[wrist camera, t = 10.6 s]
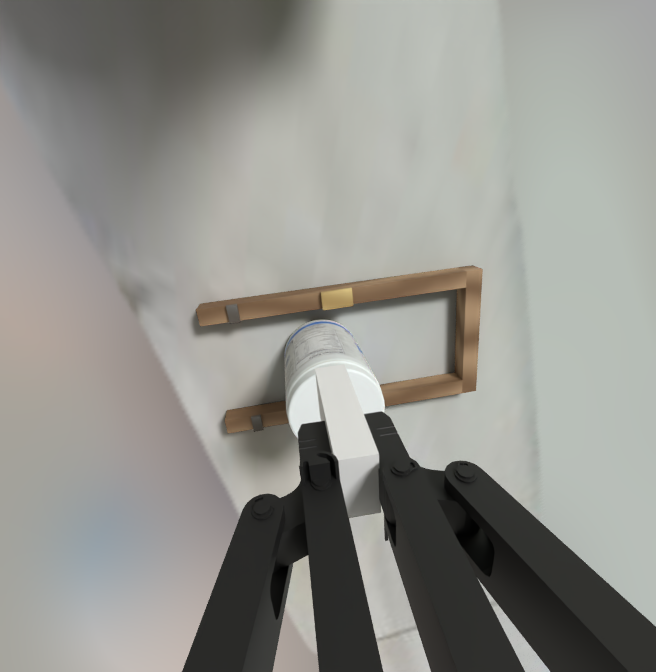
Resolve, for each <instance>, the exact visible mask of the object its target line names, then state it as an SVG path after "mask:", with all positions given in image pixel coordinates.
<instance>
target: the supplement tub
mask: <svg viewBox="0 0 656 672" xmlns="http://www.w3.org/2000/svg"><path fill="white" fill-rule="evenodd" d="M344 364H345V367H346V370H347V372H348V375H349V377H350V380H351V382H352V385H353V388H354V390H355V393H356V395H357V398H358V401H359V403H360V406H361V408H362V411H363V414H367V413H374V412H380V411H382V412H384V411H385V403H384V398H383V394H382V391H381V388H380V385H379V383H378V381H377V379H376V377H375V375H374V373H373V372H372V370H371V368H370V366H369V364H368V362H367V361H366V359H365V357H364V355H363V353H362V351H361V350H360V348H359V346H358V344H357V342H356V340H355V338H354V337H353V335H352V334H351V333H350V331H349V330H348V329H347V328H346V327H344V326H343V325H341V324H339V323H337V322H335V321H331V320H324V319H320V320H314V321H310V322H307V323H305V324H303V325H302V326H300V327H299V328H298V329H296V330H295V331H294V332H293V334H292V335H291V336H290V338H289V340H288V342H287V344H286V348H285V394H286V412H287V416H288V421H289V425H290V427H291V430H292V432H293V433H294V435H295V436H296V437H297V439H298V431H299V429H300V427H301V425H302V424H306V423H312V422H319V421H321V418H320V411H319V402H318V393H317V383H316V374H315V368H322V367H329V366H336V365H344Z"/></svg>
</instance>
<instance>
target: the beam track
mask: <svg viewBox="0 0 656 672" xmlns="http://www.w3.org/2000/svg"><path fill="white" fill-rule="evenodd" d="M482 270H483V269H481V268H478V267H475V266H473V265H472V266H465V267H458V268H451V269H444V270H437V271H430V272H423V273H416V274H408V275H401V276H394V277H387V278H380V279H373V280H366V281H359V282H352V283H345V284H337V285H330V286H323V287H316V288H309V289H302V290H295V291H288V292H281V293H274V294H266V295H259V296H252V297H245V298H238V299H231V300H224V301H217V302H210V303H203V304H200V305H199V306H198V308H197V309H196V312H197V316H198V320H199V324H200V326H206V325H213V324H220V323H227V322H229V323H230V324H232V323H239V322H241V320H247V319H254V318H261V317H268V316H275V315H282V314H288V313H295V312H302V311H309V310H316V309H323V310H330V309H336V308H343V307H350V306H353V304H357V303H364V302H371V301H377V300H384V299H391V298H398V297H405V296H412V295H418V294H425V293H432V292H439V291H446V290H453V289H457V301H456V336H455V372H454V373H448V374H442V375H436V376H430V377H424V378H418V379H412V380H406V381H400V382H394V383H388V384H382V385H380V388H381V391H382V394H383V398H384V403H385V406H390V405H396V404H402V403H408V402H413V401H419V400H425V399H431V398H437V397H442V396H448V395H454V394H460V393H466V392H471V391H476V380H477V361H478V343H479V325H480V306H481V288H482ZM286 423H289V421H288V416H287V412H286V401H280V402H274V403H268V404H262V405H256V406H250V407H244V408H238V409H232V410H227V412H226V417H225V424H226V428H227V432H228V433H234V432H239V431H245V430H251V429H254V432H255V431H260V430H263V427H268V426H274V425H280V424H286Z"/></svg>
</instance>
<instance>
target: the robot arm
mask: <svg viewBox="0 0 656 672" xmlns="http://www.w3.org/2000/svg"><path fill="white" fill-rule="evenodd" d="M315 374H316V383H317V393H318V402H319V411H320V418H321V421H319V422H312V423H306V424H302V425H301V427H300V429H299V431H298V442H299V453H300V466H299V469H300V476H301V482H300V484H299V486H298V487H297V488H296V489H295V490H294V491H293V492H292V493H290V494H288V495H286V496H284V497H282V498H279V497H277V496H276V495H272V494H262V495H258V496H256V497H254V498H252V499H251V500H250V501H249V502H248V503H247V504H246V505H245V507H244V509H243V511H242V513H241V516H240V519H239V521H238V524H237V527H236V529H235V532H234V535H233V537H232V540H231V543H230V546H229V548H228V551H227V553H226V556H225V559H224V561H223V564H222V567H221V569H220V572H219V575H218V577H217V580H216V583H215V585H214V588H213V591H212V593H211V596H210V599H209V602H208V604H207V607H206V609H205V612H204V615H203V617H202V620H201V623H200V625H199V628H198V631H197V633H196V636H195V639H194V641H193V644H192V647H191V649H190V652H189V655H188V657H187V660H186V663H185V665H184V668H183V671H182V672H272V671H273V666H274V660H275V655H276V650H277V645H278V639H279V634H280V629H281V624H282V619H283V614H284V609H285V604H286V598H287V593H288V588H289V583H290V578H291V572H292V567H293V563H294V562H296V561H298V560H299V559H301V558H303V557H305V556H307V555H308V556H309V567H310V577H311V588H312V599H313V609H314V620H315V631H316V641H317V652H318V662H319V672H383V669H382V664H381V660H380V655H379V651H378V646H377V642H376V637H375V633H374V629H373V624H372V620H371V615H370V611H369V606H368V602H367V597H366V593H365V588H364V584H363V580H362V575H361V571H360V566H359V562H358V557H357V553H356V548H355V544H354V540H353V535H352V531H351V526H350V522H349V518H352V517H358V516H363V515H369V514H375V513H380V512H381V506H382V509H383V512H384V531H385V541H387V540H388V537H389V541H390V544H391V547H392V550H393V553H394V556H395V559H396V563H397V566H398V569H399V572H400V575H401V578H402V581H403V585H404V588H405V591H406V594H407V597H408V600H409V603H410V606H411V610H412V613H413V616H414V619H415V622H416V625H417V628H418V632H419V635H420V638H421V641H422V644H423V647H424V650H425V654H426V657H427V660H428V663H429V666H430V669H431V672H525V671H524V669H523V667H522V665H521V663H520V661H519V659H518V657H517V655H516V653H515V651H514V649H513V647H512V645H511V643H510V641H509V639H508V638H507V636H506V634H505V632H504V630H503V628H502V626H501V624H500V622H499V620H498V618H497V616H496V614H495V612H494V610H493V608H492V606H491V604H490V602H489V600H488V598H487V596H486V594H485V592H484V590H483V589H482V587H481V585H480V583H479V581H480V582H481V583H482V584H483V586H484V587H485V588H486V590H487V591H488V592H489V593H490V595H491V596H492V597H493V599H494V600H495V601H496V602H497V604H498V605H499V606H500V607H501V609H502V610H503V611H504V613H505V614H506V615H507V616H508V618H509V619H510V620H511V622H512V623H513V624H514V625H515V627H516V628H517V629H518V631H519V632H520V633H521V634H522V636H523V637H524V638H525V640H526V641H527V642H528V643H529V645H530V646H531V647H532V648H533V650H534V651H535V652H536V654H537V655H538V656H539V657H540V659H541V660H542V661H543V663H544V664H545V665H546V666H547V668H548V669H549V670H550V672H656V627H655V626H654V625H653V624H652V623H651V622H650V621H649V620H648V619H647V618H646V617H644V616H643V615H642V614H641V613H640V612H639V611H638V610H637V609H636V608H634V607H633V606H632V605H631V604H630V603H629V602H628V601H627V600H625V598H623V597H622V596H621V595H620V594H619V593H618V592H617V591H616V590H615V589H614V588H612V587H611V586H610V585H609V584H608V583H607V582H606V581H605V580H603V579H602V578H601V577H600V576H599V575H598V574H597V573H596V572H595V571H594V570H592V569H591V568H590V567H589V566H588V565H587V564H586V563H585V562H584V561H583V560H582V559H580V558H579V557H578V556H577V555H576V554H575V553H574V552H573V551H572V550H571V549H569V548H568V547H567V546H566V545H565V544H564V543H563V542H562V541H561V540H559V539H558V538H557V537H556V536H555V535H554V534H553V533H552V532H550V530H548V529H547V528H546V527H545V526H544V525H543V524H542V523H541V522H540V521H539V520H537V519H536V518H535V517H534V516H533V515H532V514H531V513H530V512H529V511H528V510H526V509H525V508H524V507H523V506H522V505H521V504H520V503H519V502H518V501H516V500H515V499H514V498H513V497H512V496H511V495H510V494H509V493H508V492H507V491H505V490H504V489H503V488H502V487H501V486H500V485H499V484H498V483H497V482H496V481H494V480H493V479H492V478H491V477H490V476H489V475H488V474H487V473H486V472H485V471H483V470H482V469H481V468H480V467H478V466H477V465H475V464H473V463H470V462H467V461H455V462H452V463H450V464H449V465H447V467H446V469H445V471H438V470H430V469H425V468H423V467H420V465H419V464H418V463H417V462H416V461H415V460H413V459H411V458H410V457H409V455H408V453H407V451H406V449H405V447H404V445H403V443H402V441H401V439H400V437H399V435H398V434H397V431H396V429H395V427H394V425H393V422H392V420H391V418H390V417H389V416H387V415H386V414H385V413H384V412H382V411H380V412H374V413H367V414H363V411H362V408H361V406H360V403H359V401H358V398H357V395H356V393H355V390H354V388H353V385H352V382H351V380H350V377H349V375H348V372H347V370H346V367H345V364H344V365H336V366H329V367H322V368H315ZM477 578H478V579H479V581H478V579H477Z"/></svg>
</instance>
